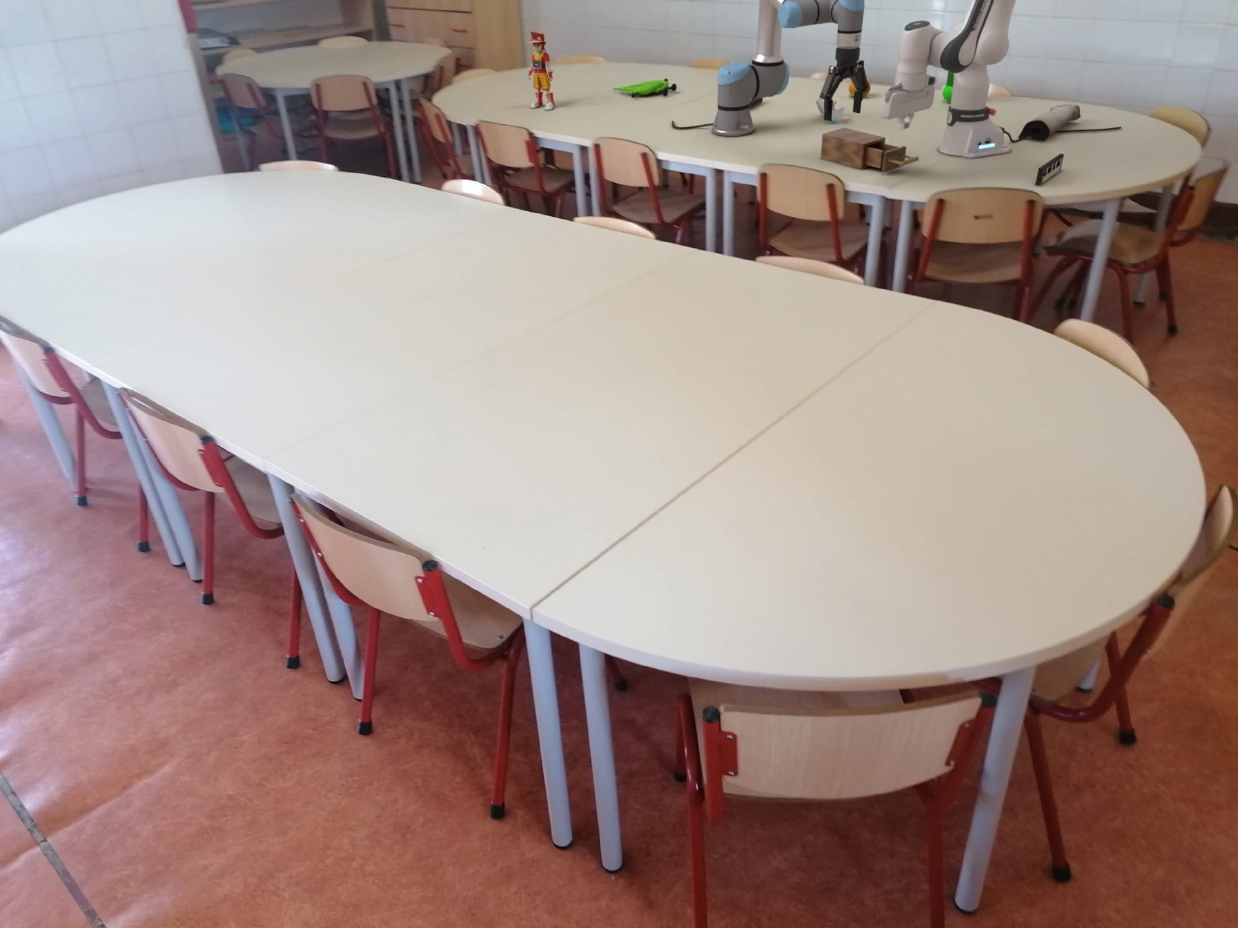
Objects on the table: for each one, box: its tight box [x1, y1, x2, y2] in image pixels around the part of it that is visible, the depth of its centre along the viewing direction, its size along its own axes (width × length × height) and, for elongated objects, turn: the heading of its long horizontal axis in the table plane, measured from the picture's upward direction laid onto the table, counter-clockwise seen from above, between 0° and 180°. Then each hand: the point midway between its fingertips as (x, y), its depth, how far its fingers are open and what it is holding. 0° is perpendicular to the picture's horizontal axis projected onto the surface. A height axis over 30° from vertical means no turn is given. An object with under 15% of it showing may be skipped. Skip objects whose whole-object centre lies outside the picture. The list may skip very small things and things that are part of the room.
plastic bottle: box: [942, 71, 954, 104], centre depth 348 cm, size 10×10×25 cm
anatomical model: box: [815, 95, 850, 124], centre depth 341 cm, size 15×10×10 cm
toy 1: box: [527, 31, 556, 111], centre depth 374 cm, size 12×9×30 cm
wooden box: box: [820, 127, 886, 170], centre depth 297 cm, size 18×10×8 cm, turn 35°
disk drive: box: [749, 97, 764, 110], centre depth 367 cm, size 10×3×15 cm
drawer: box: [863, 142, 920, 173], centre depth 288 cm, size 22×9×6 cm, turn 35°
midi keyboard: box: [1035, 153, 1065, 186], centre depth 273 cm, size 18×1×5 cm, turn 138°
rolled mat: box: [1017, 103, 1082, 142], centre depth 314 cm, size 30×9×10 cm
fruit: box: [848, 79, 871, 98], centre depth 368 cm, size 8×8×8 cm
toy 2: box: [612, 78, 677, 99], centre depth 396 cm, size 28×5×30 cm
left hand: (842, 116), depth 296 cm, fingers open, 13 cm apart
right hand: (904, 128), depth 278 cm, fingers closed
